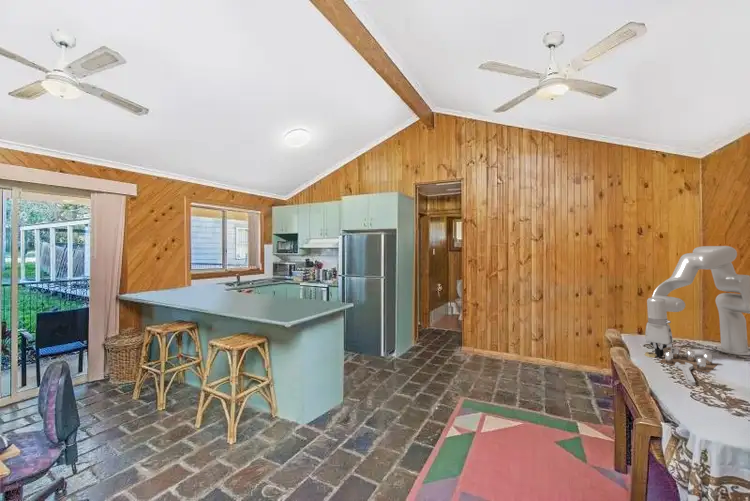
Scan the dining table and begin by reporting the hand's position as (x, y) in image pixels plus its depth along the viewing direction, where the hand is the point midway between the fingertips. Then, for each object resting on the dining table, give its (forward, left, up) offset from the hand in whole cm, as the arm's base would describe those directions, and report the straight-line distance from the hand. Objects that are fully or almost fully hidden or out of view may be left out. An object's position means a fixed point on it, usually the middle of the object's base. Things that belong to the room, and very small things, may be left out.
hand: (659, 356), depth 166 cm
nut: (0, -4, -1) cm, 4 cm away
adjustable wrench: (+17, +14, -1) cm, 22 cm away
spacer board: (0, +11, -1) cm, 11 cm away
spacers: (0, +11, -1) cm, 11 cm away
